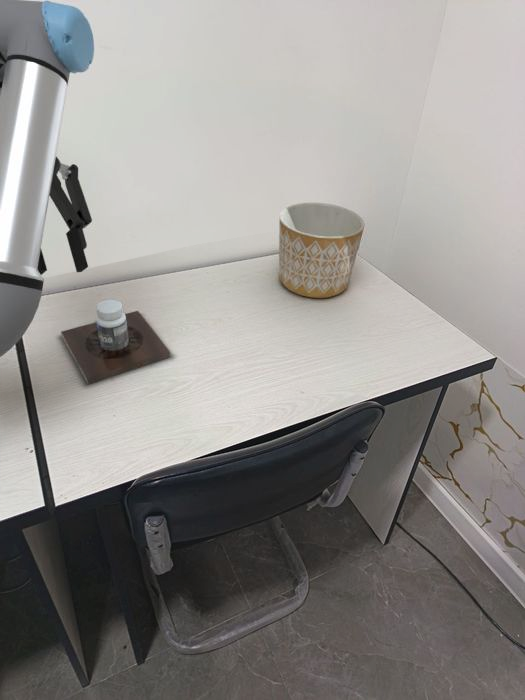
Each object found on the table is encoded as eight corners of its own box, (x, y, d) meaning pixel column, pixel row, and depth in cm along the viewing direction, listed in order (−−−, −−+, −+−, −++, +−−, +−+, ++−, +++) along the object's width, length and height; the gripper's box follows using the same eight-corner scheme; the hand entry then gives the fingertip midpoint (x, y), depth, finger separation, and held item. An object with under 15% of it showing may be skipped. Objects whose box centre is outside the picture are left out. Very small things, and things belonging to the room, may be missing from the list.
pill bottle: (95, 347, 97) (87, 306, 91) (117, 335, 100) (111, 294, 94) (113, 359, 94) (106, 317, 88) (135, 346, 98) (130, 305, 92)
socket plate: (87, 384, 89) (86, 378, 88) (62, 337, 99) (60, 331, 98) (170, 357, 96) (169, 351, 95) (138, 316, 106) (137, 310, 105)
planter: (301, 310, 112) (310, 243, 102) (260, 271, 125) (264, 209, 114) (368, 292, 120) (382, 228, 110) (322, 257, 133) (331, 197, 122)
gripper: (71, 144, 86) (106, 273, 86) (-53, 131, 72) (-10, 284, 72) (89, 122, 80) (127, 259, 80) (-40, 104, 67) (5, 268, 67)
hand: (62, 271), depth 76 cm, fingers open, 6 cm apart
